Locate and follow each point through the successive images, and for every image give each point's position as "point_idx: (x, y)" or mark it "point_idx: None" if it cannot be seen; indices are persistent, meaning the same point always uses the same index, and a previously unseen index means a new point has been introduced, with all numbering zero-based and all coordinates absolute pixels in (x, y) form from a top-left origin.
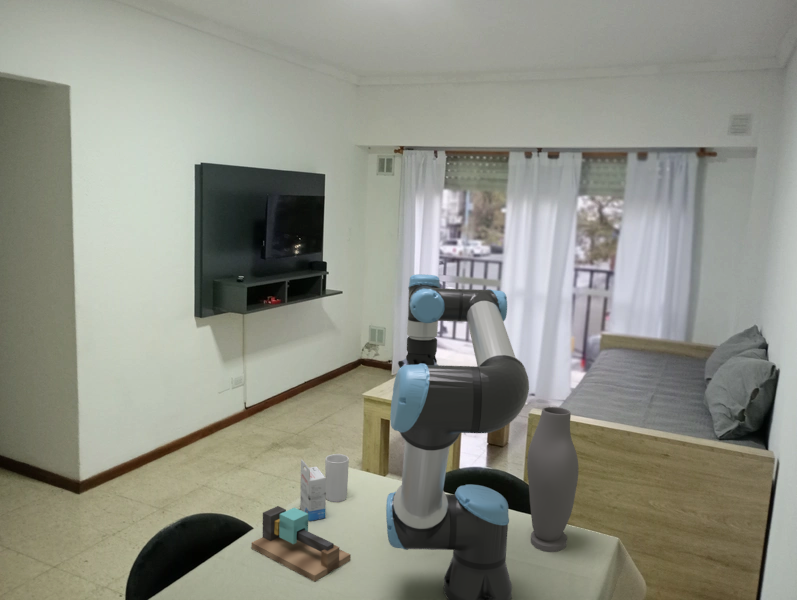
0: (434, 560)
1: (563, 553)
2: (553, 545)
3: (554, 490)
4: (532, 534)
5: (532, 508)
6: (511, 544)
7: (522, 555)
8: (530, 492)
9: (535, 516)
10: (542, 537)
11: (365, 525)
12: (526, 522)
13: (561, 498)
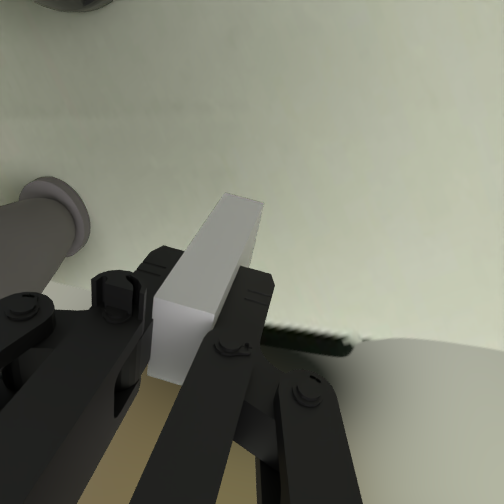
0: (213, 7)
1: (18, 184)
2: (27, 189)
3: None
4: (78, 214)
5: (30, 227)
6: (106, 173)
7: (69, 139)
8: (13, 250)
9: (30, 215)
10: (44, 198)
11: (460, 91)
12: (123, 270)
13: None
